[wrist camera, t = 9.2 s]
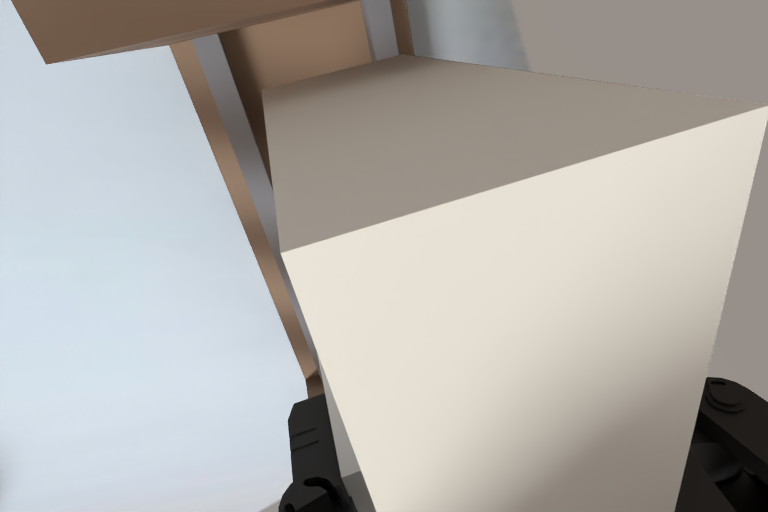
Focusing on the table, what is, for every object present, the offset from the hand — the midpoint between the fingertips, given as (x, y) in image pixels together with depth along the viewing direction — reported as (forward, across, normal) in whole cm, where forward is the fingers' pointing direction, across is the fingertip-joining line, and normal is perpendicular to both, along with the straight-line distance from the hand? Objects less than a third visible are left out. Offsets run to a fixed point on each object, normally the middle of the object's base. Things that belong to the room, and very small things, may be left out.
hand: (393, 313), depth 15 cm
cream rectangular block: (0, 0, 0) cm, 0 cm away
